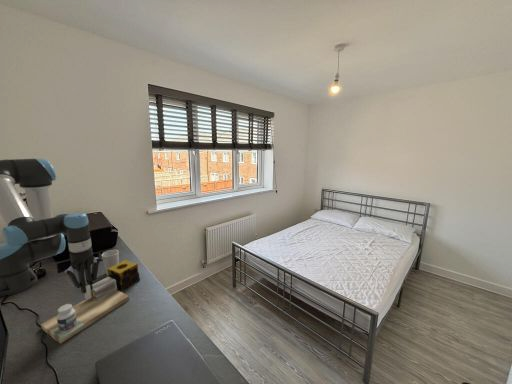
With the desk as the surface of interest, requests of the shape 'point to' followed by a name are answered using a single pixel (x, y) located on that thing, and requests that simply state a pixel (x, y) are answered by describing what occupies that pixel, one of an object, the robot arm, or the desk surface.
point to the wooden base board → (89, 309)
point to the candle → (124, 274)
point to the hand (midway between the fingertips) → (88, 297)
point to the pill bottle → (66, 318)
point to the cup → (110, 259)
